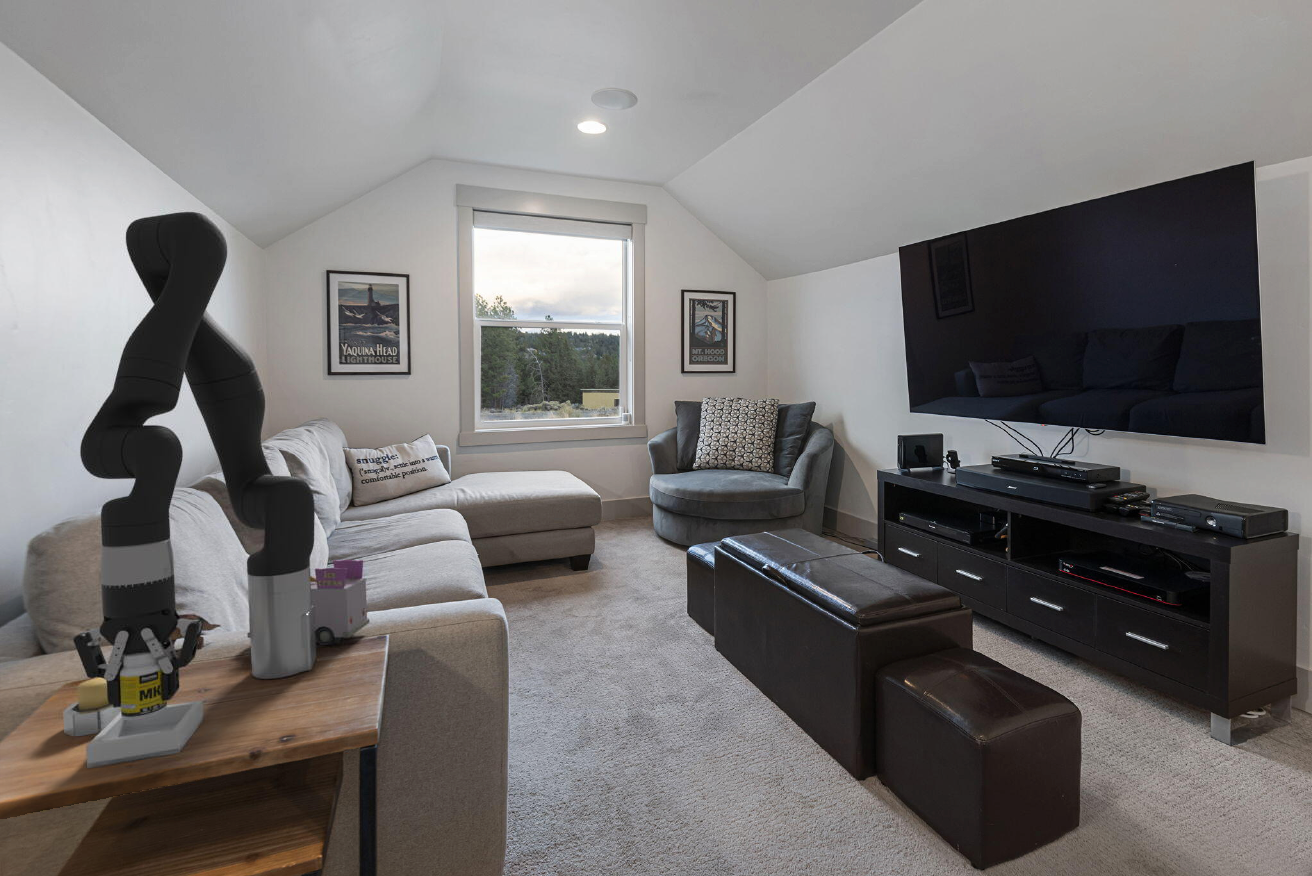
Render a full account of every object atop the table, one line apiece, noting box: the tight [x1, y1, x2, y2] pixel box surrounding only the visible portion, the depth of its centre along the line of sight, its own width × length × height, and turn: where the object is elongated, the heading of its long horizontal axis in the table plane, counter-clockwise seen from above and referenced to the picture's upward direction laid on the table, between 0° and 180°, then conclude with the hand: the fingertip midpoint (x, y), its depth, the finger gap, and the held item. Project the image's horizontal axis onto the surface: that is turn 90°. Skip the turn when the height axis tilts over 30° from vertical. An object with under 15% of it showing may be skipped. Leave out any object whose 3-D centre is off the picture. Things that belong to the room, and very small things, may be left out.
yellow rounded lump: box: [77, 677, 109, 710], centre depth 90 cm, size 4×4×3 cm
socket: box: [62, 700, 121, 738], centre depth 90 cm, size 7×7×3 cm
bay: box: [85, 700, 204, 769], centre depth 85 cm, size 10×10×3 cm
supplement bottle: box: [120, 652, 168, 720], centre depth 85 cm, size 5×5×8 cm
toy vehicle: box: [246, 559, 370, 646], centre depth 122 cm, size 9×20×15 cm, turn 88°
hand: (144, 701), depth 85 cm, fingers closed on supplement bottle, 4 cm apart
